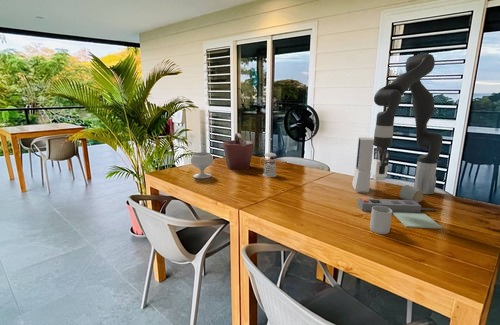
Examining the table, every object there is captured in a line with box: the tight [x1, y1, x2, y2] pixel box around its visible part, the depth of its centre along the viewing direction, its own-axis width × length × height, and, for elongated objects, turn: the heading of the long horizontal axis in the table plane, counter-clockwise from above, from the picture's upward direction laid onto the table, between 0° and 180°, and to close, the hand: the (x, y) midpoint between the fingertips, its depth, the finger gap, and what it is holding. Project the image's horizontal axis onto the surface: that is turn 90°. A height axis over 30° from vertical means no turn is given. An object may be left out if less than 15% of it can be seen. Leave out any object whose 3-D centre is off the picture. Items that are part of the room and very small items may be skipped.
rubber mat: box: [392, 212, 443, 229], centre depth 122 cm, size 14×14×1 cm
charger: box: [371, 158, 389, 181], centre depth 130 cm, size 5×5×9 cm
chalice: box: [190, 151, 214, 180], centre depth 184 cm, size 14×14×15 cm
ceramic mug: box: [399, 184, 424, 204], centre depth 144 cm, size 11×8×8 cm
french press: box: [259, 137, 278, 178], centre depth 188 cm, size 10×12×25 cm
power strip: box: [357, 198, 436, 213], centre depth 133 cm, size 34×7×4 cm, turn 85°
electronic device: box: [352, 136, 374, 194], centre depth 158 cm, size 12×8×30 cm, turn 168°
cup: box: [369, 206, 393, 235], centre depth 113 cm, size 7×10×9 cm
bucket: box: [222, 132, 254, 171], centre depth 208 cm, size 24×22×25 cm
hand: (379, 172), depth 131 cm, fingers closed on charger, 5 cm apart
